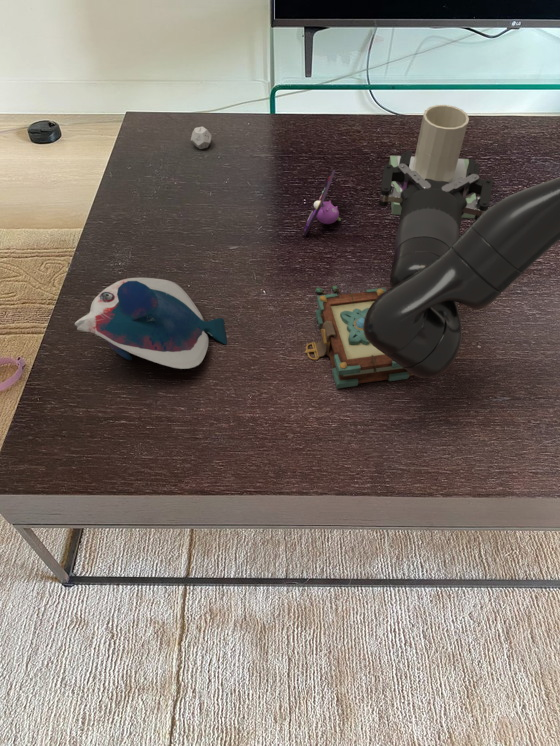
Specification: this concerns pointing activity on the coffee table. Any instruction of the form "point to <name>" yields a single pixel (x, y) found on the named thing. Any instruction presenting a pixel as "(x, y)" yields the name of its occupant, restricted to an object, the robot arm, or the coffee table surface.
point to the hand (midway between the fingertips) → (439, 160)
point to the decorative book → (351, 340)
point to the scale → (459, 173)
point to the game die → (201, 137)
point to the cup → (440, 142)
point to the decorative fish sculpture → (152, 322)
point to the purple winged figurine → (323, 209)
